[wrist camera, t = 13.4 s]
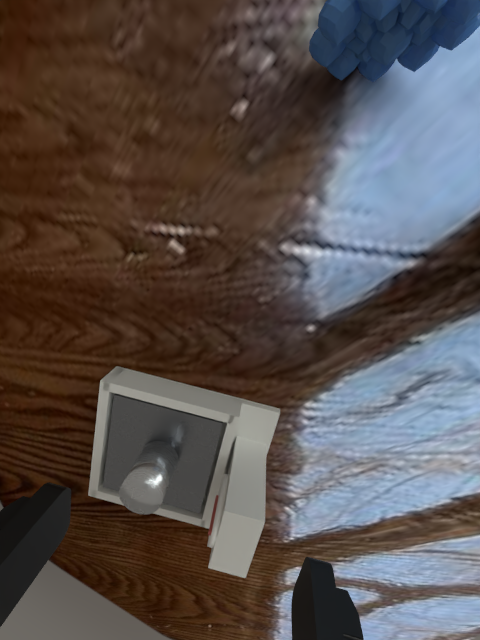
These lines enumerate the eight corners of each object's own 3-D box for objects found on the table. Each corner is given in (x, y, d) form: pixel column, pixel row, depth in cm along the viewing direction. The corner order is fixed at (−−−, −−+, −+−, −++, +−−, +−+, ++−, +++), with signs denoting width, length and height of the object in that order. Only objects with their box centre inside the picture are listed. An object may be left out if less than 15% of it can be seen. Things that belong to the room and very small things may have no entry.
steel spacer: (181, 447, 37) (165, 486, 31) (174, 476, 39) (158, 519, 33) (144, 436, 37) (121, 474, 32) (139, 466, 39) (116, 507, 33)
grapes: (443, 9, 26) (580, -168, 15) (427, 99, 28) (536, 6, 16) (309, 11, 27) (338, -152, 16) (301, 99, 29) (322, 10, 17)
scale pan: (224, 417, 37) (222, 423, 36) (201, 505, 41) (199, 513, 40) (118, 389, 37) (114, 394, 36) (107, 480, 41) (102, 487, 40)
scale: (279, 408, 38) (284, 483, 27) (247, 511, 44) (239, 610, 32) (116, 366, 39) (53, 421, 28) (103, 472, 44) (45, 556, 33)
